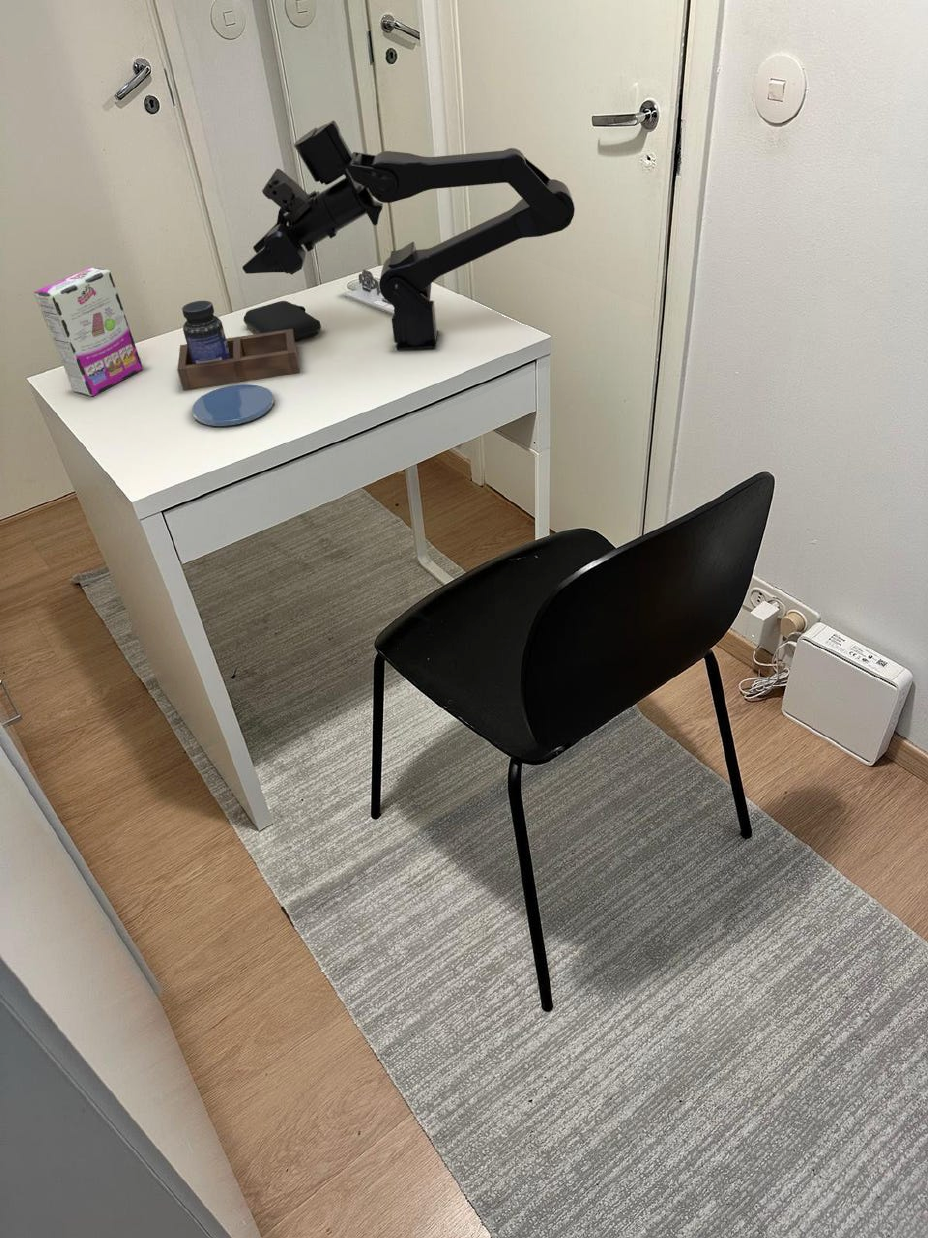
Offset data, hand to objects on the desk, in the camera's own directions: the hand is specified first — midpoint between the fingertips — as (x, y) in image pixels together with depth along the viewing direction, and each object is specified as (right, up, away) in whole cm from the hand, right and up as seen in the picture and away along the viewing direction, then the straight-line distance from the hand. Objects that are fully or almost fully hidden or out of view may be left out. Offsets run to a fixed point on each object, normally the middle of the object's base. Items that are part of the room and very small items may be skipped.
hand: (249, 259), depth 140 cm
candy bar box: (-24, -17, +6) cm, 31 cm away
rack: (-3, -15, +6) cm, 17 cm away
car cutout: (+19, +2, +25) cm, 31 cm away
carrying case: (+2, -6, +17) cm, 18 cm away
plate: (-1, -24, -5) cm, 25 cm away
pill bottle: (-7, -16, +5) cm, 19 cm away
